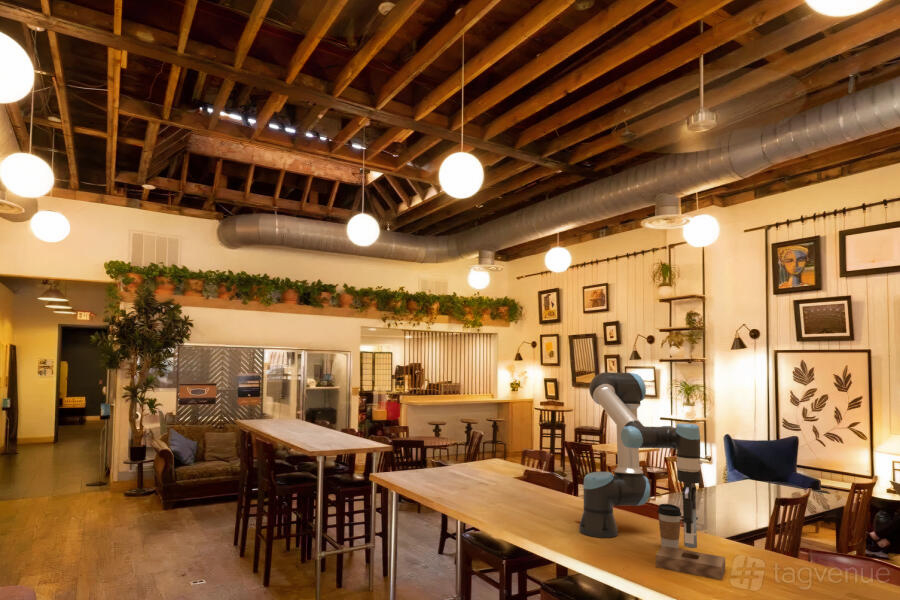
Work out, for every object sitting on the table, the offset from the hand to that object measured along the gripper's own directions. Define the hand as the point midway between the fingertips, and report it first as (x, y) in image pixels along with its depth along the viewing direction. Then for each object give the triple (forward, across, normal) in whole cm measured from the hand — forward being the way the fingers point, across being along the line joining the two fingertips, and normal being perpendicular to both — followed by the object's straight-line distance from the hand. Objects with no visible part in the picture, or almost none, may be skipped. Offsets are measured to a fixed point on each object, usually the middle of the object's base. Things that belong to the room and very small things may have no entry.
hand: (690, 541), depth 190 cm
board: (+9, 0, 0) cm, 9 cm away
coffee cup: (+9, +20, +10) cm, 24 cm away
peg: (+2, 0, 0) cm, 2 cm away
